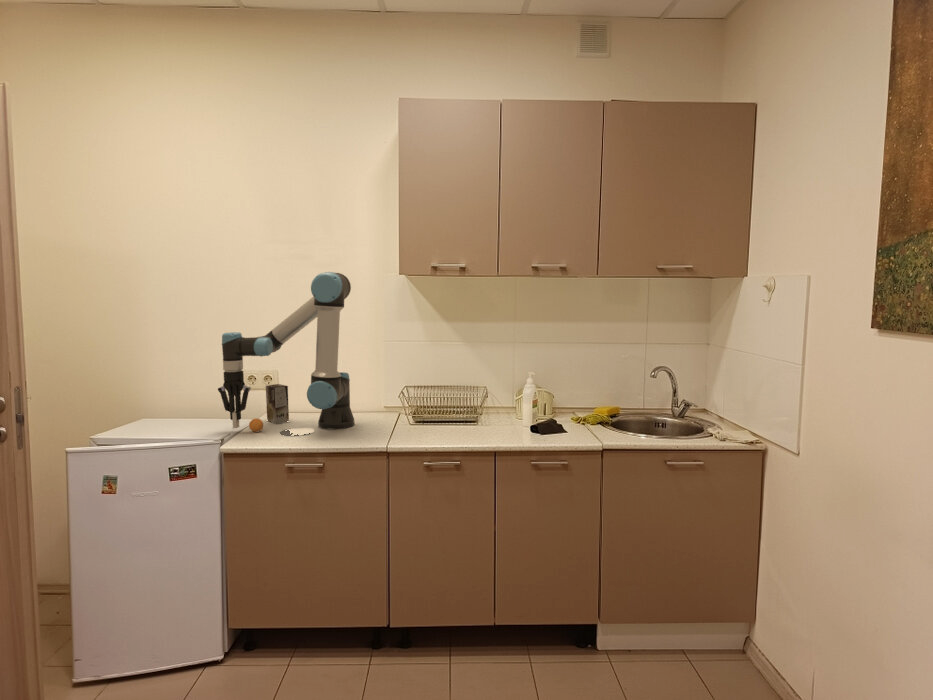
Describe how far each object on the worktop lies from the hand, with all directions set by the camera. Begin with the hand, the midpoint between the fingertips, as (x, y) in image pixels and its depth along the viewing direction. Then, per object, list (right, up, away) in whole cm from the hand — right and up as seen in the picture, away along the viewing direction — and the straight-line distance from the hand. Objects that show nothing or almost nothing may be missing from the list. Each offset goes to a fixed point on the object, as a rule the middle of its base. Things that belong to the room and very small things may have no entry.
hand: (236, 427), depth 239 cm
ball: (+8, +1, 0) cm, 8 cm away
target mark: (+25, -2, -1) cm, 25 cm away
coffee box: (+11, 0, +19) cm, 22 cm away
